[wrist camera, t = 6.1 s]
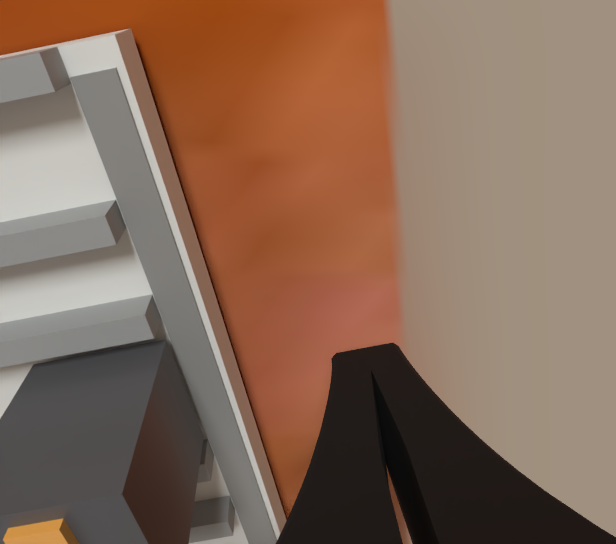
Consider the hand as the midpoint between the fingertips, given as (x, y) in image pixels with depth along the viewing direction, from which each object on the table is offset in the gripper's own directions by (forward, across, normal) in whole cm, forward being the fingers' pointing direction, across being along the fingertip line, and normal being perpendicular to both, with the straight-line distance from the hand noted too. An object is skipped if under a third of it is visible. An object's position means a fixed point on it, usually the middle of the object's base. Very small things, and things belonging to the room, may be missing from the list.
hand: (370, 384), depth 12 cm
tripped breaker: (+1, +6, 0) cm, 6 cm away
